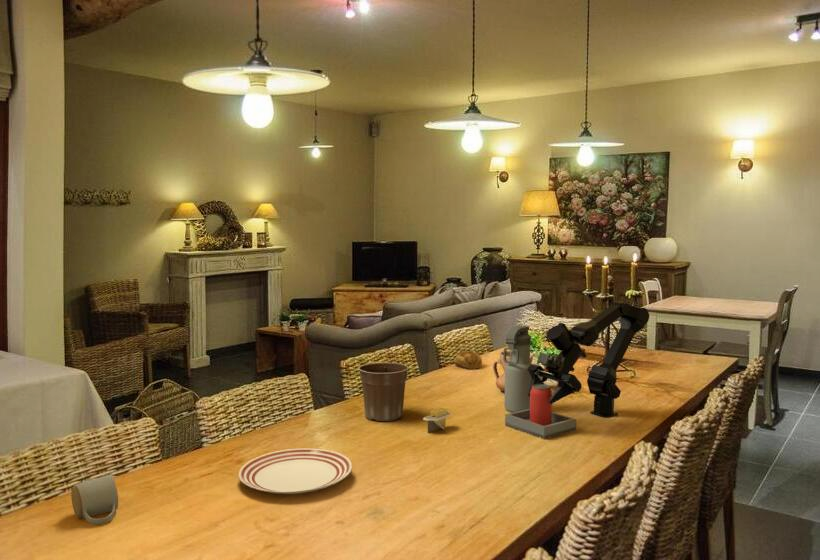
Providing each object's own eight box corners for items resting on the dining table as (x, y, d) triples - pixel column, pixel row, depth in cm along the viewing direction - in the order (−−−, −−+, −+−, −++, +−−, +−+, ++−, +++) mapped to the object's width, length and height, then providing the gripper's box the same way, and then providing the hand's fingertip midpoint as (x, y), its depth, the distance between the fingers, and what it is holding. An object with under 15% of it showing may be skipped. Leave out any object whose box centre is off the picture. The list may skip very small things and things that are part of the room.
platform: (471, 428, 211) (471, 407, 210) (435, 443, 197) (435, 421, 196) (440, 420, 218) (440, 400, 218) (403, 434, 205) (403, 413, 204)
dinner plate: (301, 513, 150) (301, 498, 150) (214, 486, 165) (214, 473, 164) (374, 473, 173) (374, 460, 173) (291, 453, 188) (291, 441, 187)
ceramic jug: (545, 391, 254) (546, 353, 252) (526, 399, 242) (526, 360, 241) (503, 383, 265) (504, 347, 264) (483, 391, 254) (483, 353, 252)
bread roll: (448, 366, 296) (449, 347, 295) (464, 363, 302) (465, 345, 301) (470, 371, 286) (470, 352, 285) (486, 368, 292) (486, 349, 291)
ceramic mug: (70, 512, 149) (68, 478, 148) (109, 502, 154) (108, 469, 154) (83, 530, 141) (82, 495, 140) (124, 519, 146) (123, 485, 145)
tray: (536, 417, 221) (536, 407, 220) (575, 430, 208) (576, 419, 207) (505, 425, 212) (505, 414, 212) (543, 439, 199) (544, 427, 199)
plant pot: (351, 412, 226) (351, 364, 224) (397, 407, 232) (397, 360, 231) (368, 426, 211) (368, 374, 209) (416, 420, 217) (416, 370, 216)
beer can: (544, 429, 205) (544, 389, 204) (525, 424, 210) (526, 386, 209) (555, 424, 210) (556, 385, 209) (537, 420, 215) (537, 382, 214)
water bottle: (520, 415, 223) (521, 330, 220) (497, 409, 230) (498, 326, 227) (539, 409, 229) (541, 327, 227) (517, 403, 237) (518, 323, 234)
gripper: (532, 338, 218) (505, 377, 213) (575, 348, 202) (547, 390, 197) (550, 360, 223) (523, 398, 218) (593, 371, 207) (566, 413, 202)
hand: (539, 399), depth 209 cm, fingers open, 9 cm apart
